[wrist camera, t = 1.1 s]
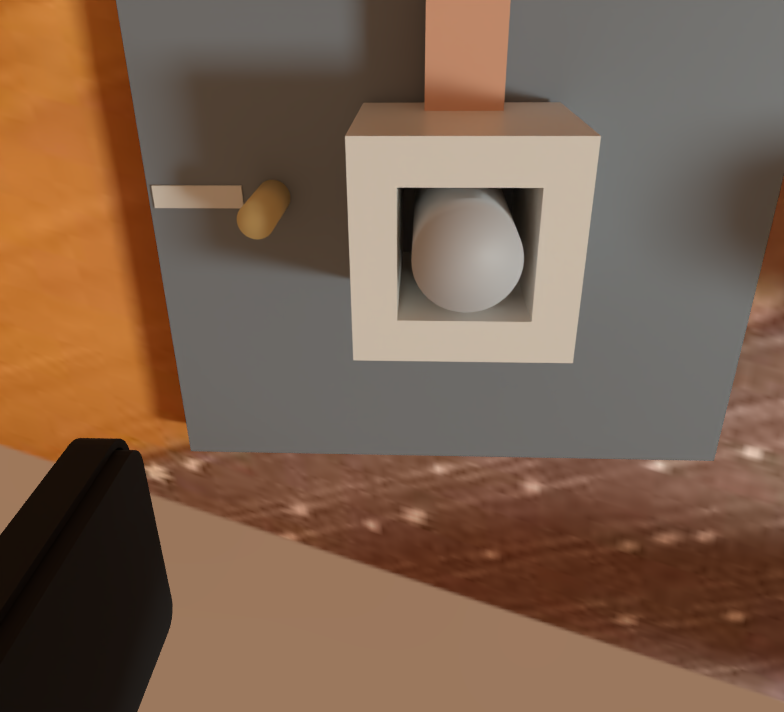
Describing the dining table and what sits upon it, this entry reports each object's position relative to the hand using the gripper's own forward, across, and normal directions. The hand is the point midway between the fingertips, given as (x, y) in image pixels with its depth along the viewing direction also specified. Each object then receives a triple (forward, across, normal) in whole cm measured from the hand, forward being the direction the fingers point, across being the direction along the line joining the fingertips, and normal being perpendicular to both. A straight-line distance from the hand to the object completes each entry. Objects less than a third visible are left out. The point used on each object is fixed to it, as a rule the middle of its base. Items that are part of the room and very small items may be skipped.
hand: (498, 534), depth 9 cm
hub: (+17, 0, -2) cm, 17 cm away
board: (+20, 0, 0) cm, 20 cm away
